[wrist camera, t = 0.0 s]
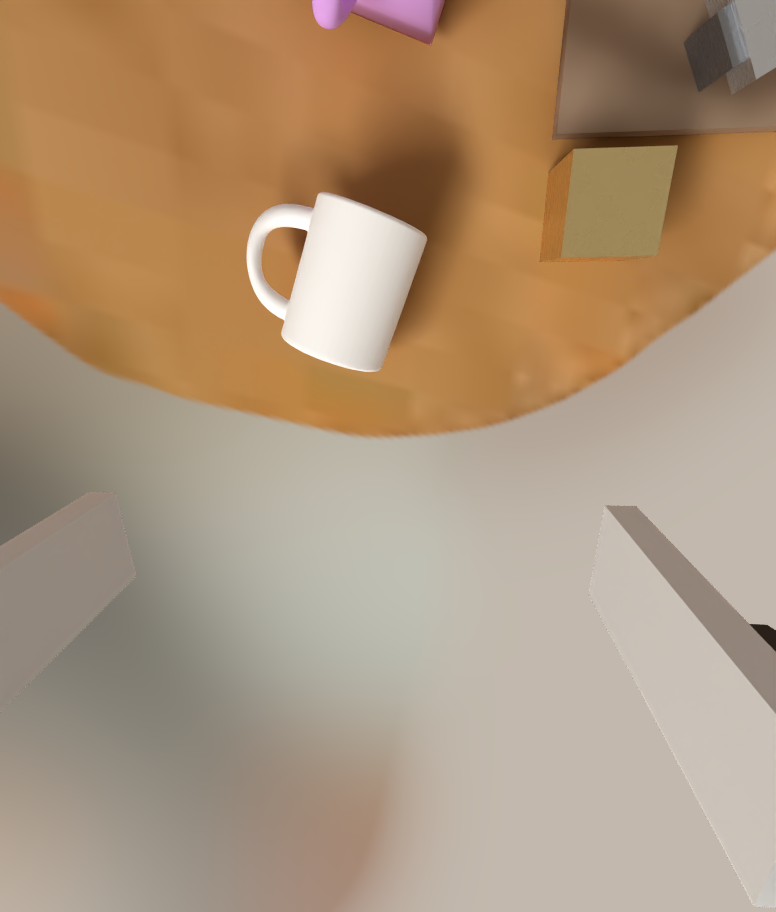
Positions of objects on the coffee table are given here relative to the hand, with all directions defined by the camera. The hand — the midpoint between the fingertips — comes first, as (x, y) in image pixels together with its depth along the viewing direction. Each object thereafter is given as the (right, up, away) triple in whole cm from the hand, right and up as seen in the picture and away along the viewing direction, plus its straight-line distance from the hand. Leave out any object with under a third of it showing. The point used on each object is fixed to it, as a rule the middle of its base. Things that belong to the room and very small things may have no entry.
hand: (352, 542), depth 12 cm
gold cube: (+16, +20, +21) cm, 33 cm away
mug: (-3, +17, +24) cm, 30 cm away
